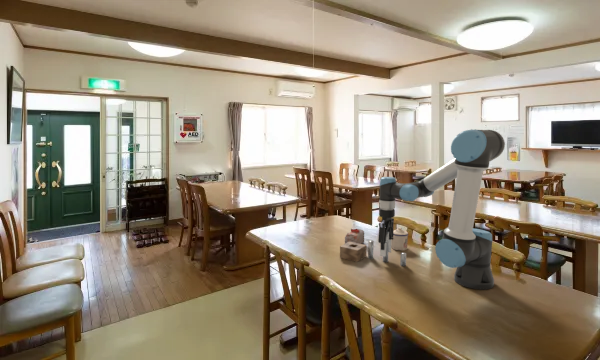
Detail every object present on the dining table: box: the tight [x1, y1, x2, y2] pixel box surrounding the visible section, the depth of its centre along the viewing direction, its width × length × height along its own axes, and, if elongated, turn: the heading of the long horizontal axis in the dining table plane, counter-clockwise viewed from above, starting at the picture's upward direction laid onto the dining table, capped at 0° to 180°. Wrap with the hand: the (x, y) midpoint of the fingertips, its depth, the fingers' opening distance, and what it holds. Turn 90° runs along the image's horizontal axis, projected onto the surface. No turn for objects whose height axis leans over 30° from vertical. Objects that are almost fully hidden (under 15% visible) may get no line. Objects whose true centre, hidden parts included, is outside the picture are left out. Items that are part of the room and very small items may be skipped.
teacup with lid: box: [391, 227, 409, 251], centre depth 189 cm, size 12×9×12 cm
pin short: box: [400, 251, 407, 267], centre depth 163 cm, size 3×3×6 cm
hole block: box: [339, 242, 367, 263], centre depth 174 cm, size 10×10×6 cm
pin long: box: [382, 232, 389, 263], centre depth 167 cm, size 3×3×15 cm
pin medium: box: [367, 239, 375, 260], centre depth 173 cm, size 3×3×9 cm
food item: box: [344, 228, 365, 244], centre depth 192 cm, size 14×8×10 cm, turn 149°
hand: (385, 253), depth 168 cm, fingers open, 6 cm apart
